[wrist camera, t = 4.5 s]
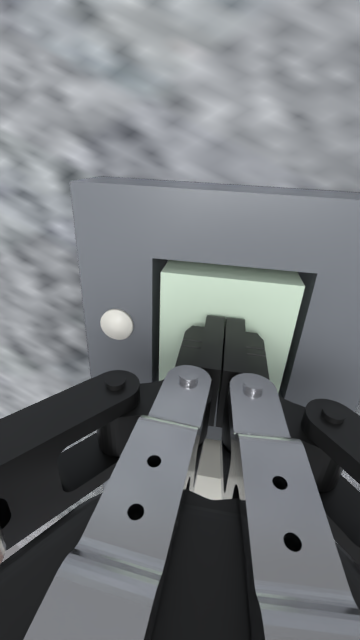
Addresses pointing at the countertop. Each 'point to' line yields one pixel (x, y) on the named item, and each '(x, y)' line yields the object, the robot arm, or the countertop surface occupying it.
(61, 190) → the countertop surface
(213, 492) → the cream key
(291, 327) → the sage key
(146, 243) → the keypad
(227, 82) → the countertop surface
